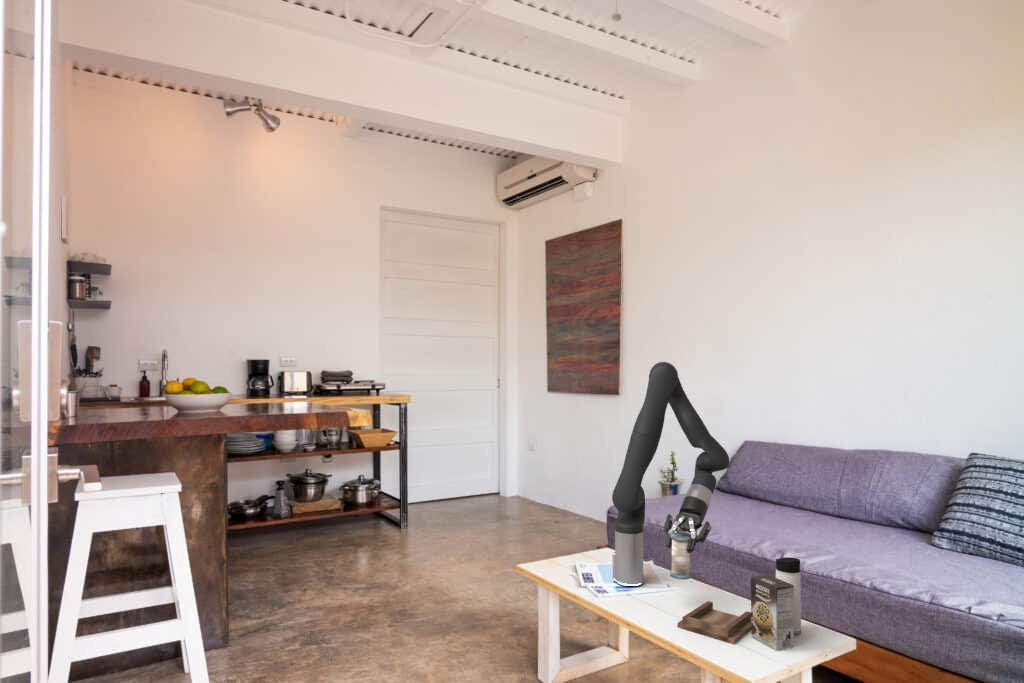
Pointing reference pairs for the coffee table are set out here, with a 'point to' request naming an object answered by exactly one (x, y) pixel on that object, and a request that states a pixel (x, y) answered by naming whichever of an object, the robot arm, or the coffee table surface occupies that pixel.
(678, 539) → the beige and blue cylinder
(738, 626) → the open-sided brown tray
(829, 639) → the coffee table surface
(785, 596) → the coffee box
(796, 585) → the travel mug
